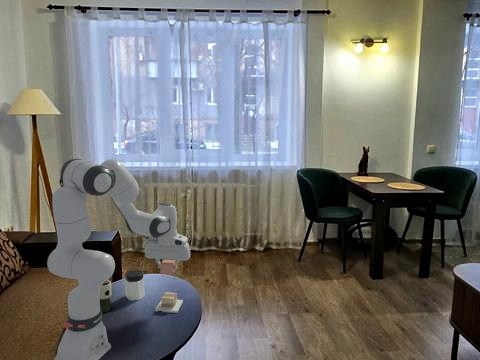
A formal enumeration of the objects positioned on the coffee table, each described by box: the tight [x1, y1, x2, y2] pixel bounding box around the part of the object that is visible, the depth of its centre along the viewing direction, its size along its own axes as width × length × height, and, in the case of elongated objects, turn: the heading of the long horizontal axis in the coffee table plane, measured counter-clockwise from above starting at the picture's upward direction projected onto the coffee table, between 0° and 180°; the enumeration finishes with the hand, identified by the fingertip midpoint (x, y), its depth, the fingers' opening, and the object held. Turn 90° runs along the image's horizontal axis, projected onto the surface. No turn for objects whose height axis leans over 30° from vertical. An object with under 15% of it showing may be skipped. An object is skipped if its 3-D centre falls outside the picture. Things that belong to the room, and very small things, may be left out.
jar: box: [124, 269, 146, 301], centre depth 195 cm, size 9×8×12 cm
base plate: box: [154, 299, 184, 314], centre depth 187 cm, size 10×10×1 cm
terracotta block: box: [159, 259, 176, 275], centre depth 185 cm, size 6×6×4 cm
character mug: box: [100, 279, 113, 313], centre depth 182 cm, size 11×7×13 cm, turn 170°
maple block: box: [160, 291, 178, 308], centre depth 186 cm, size 6×6×4 cm
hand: (167, 268), depth 185 cm, fingers closed on terracotta block, 6 cm apart
